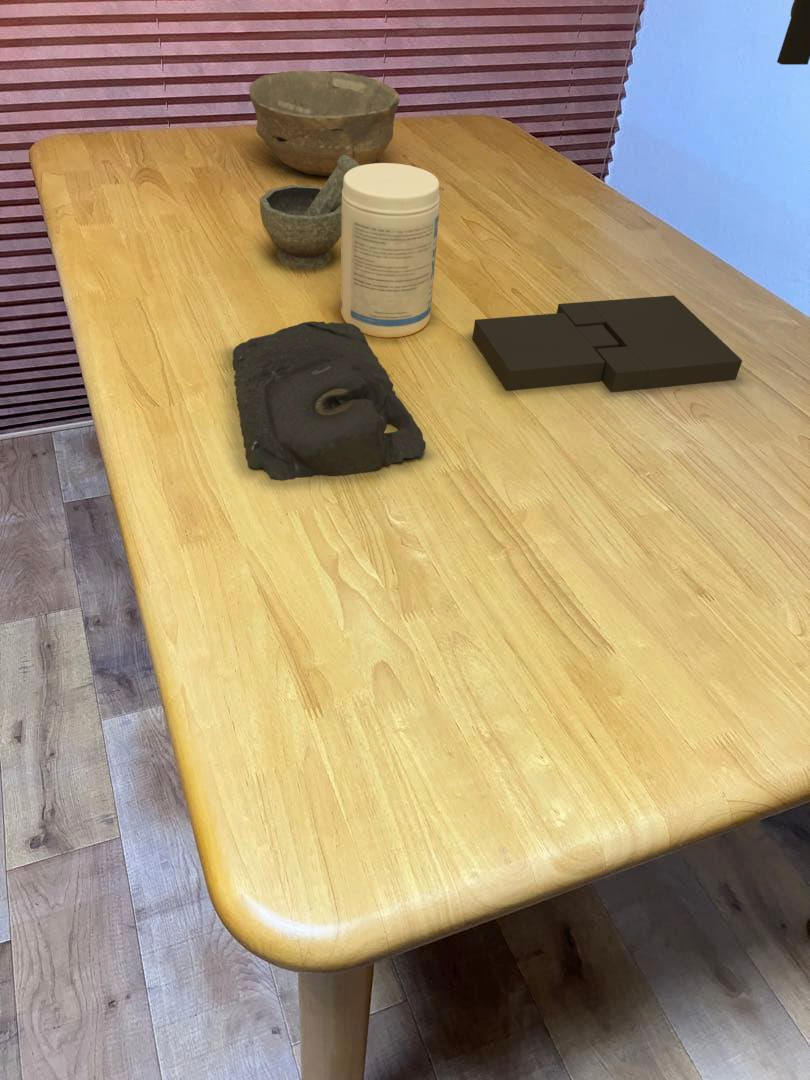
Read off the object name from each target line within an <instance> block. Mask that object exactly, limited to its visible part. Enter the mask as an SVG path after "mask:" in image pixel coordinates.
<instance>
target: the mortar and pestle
mask: <svg viewBox="0 0 810 1080" xmlns="http://www.w3.org/2000/svg"><path fill="white" fill-rule="evenodd" d="M357 166H360V165H359V164H358V163H357V162H356V161H355V160H354V159H352V158H351V157H349V156H346V155H342V156H340V157H339V159H338V161H337V167H336V168H335V170H334V171H333V173H332V174H331V176H328V179H327V180H326V181H325V183H324V185H323V186H320V185H304V184H303V185H302V184H301V185H300V184H290V185H285V186H280V187H275V188H269V190H268V191H267V192H265V193H264V194H263V195H262V196H261V197H259V213H260V218H261V222H262V223H261V224H262V226H263V227H264V229H265V231H266V233H267V234H268V236H269V238H270V240H271V241H272V243H273V245H274V246H275V247H277V248H278V249H277V258H278V260H279V262H280V263H281V264H282V265H283V266H287V267H289V268H292V269H295V270H316V269H319V268H323V267H326V266H327V265H328V264H329V263H330V261H331V260H332V253H331V250H332V249H333V248H334V247H335V245H336V244H337V243H338V242H339V240H340V239H341V214H342V189H343V180H344V175H345V174H346V173H347V172H348V171H349V170H351V169H352V168H355V167H357Z"/></svg>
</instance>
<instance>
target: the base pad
mask: <svg viewBox="0 0 810 1080" xmlns="http://www.w3.org/2000/svg"><path fill="white" fill-rule="evenodd" d="M556 313H565V315H566V316H567V317H568V318H569V319H570V321H571V322H572V323H573V324H574V325H575V326H576V327H581V326H593V325H603V326H604V327H605V329H606V330H607V331H608V332H609V333H610V334H611V335H612V336H613V338H614V339H615V340H616V341H617V342H618V343H619V346H618V347H614V348H603V349H596V352H597V353H598V354H599V355H600V356H601V357H602V359H603V360H604V361H605V365H604V369H603V373H602V377H601V381H600V382H602V384H603V385H604V386H605V387H606V389H607V390H608V391H609V392H610V393H621V392H630V391H631V392H632V391H641V390H642V391H643V390H651V389H652V390H653V389H660V388H672V387H678V386H680V387H681V386H689V385H698V384H699V385H700V384H708V383H718V382H728V381H736V379H737V376H738V374H739V371H740V368H741V365H742V363H743V360H742V358H740V356H738V354H737V353H735V352H734V351H733V350H732V349H731V347H729V346H728V345H727V344H726V343H725V342H724V341H723V340H722V339H720V337H719V336H717V335H716V334H715V332H713V331H712V330H711V329H710V328H709V327H708V326H707V325H706V324H705V323H704V322H703V321H701V319H700V318H698V316H696V314H694V313H693V312H692V311H691V310H690V309H689V308H688V307H687V306H686V305H685V304H684V303H682V301H680V299H679V298H677V296H675V295H673V294H672V295H662V296H661V295H660V296H647V297H633V298H620V299H607V300H594V301H580V302H567V303H566V302H565V303H558V304H557V309H556Z"/></svg>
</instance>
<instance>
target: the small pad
mask: <svg viewBox="0 0 810 1080" xmlns="http://www.w3.org/2000/svg"><path fill="white" fill-rule="evenodd" d="M472 331H473V332H472V339H471V340H472V341H473V343H474V344H475V346H476V348H477V349H478V351H479V352H480V353H481V355H482V356H483V358H484V360H485V361H486V364H488V366H489V367H490V369H491V371H493V373H494V375H495V376H496V378H497V380H498V381H499V382H500V384H501V386H502V387H503V388H504V390H505V392H511V391H521V390H522V391H524V390H532V389H543V388H551V387H562V386H563V387H564V386H572V385H573V386H574V385H582V384H592V383H600V382H602V381H601V377H602V373H603V369H604V365H605V361H604V360H603V359H602V357H601V356H600V355H599V354H598V353H597V352H596V349H603V348H614V347H618V346H619V343H618V342H617V341H616V340H615V339H614V338H613V336H612V335H611V334H610V333H609V332H608V331H607V330H606V329H605V327H604V326H603V325H593V326H581V327H576V326H575V325H574V324H573V323H572V322H571V321H570V319H569V318H568V317H567V316H566V315H565V313H557V312H556V313H555V312H554V313H544V314H543V313H542V314H531V315H519V316H517V315H516V316H505V317H493V318H477V319H475V320H474V324H473V330H472Z"/></svg>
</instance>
